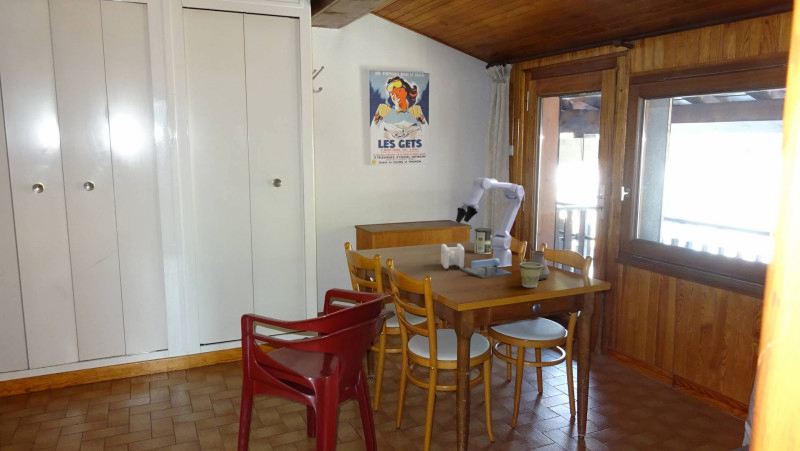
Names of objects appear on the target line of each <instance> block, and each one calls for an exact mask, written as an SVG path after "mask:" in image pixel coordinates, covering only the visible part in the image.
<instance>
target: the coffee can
mask: <svg viewBox="0 0 800 451" xmlns="http://www.w3.org/2000/svg"><path fill="white" fill-rule="evenodd" d="M492 233H493V229H492V228H487V227H478V228H474V244H473V245H474V249H473V253H474V254H477V255H489V254H492V246H491V244H490V240H491V238H492V237H493V235H492Z"/></svg>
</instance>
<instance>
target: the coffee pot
mask: <svg viewBox="0 0 800 451" xmlns="http://www.w3.org/2000/svg"><path fill="white" fill-rule="evenodd" d="M526 245H528V246H529V247H530V250H531V253H532V257H531V258H530V260H529V262H533V263H539V264H541V265H544V266H545V269H544V266H542V269H541V271H542V270H543V269H544V271H543V272H542V273H541V274H540V275H539V280H541V281H542V280H545V279H546V278H547V277H548V276H549V275H550V270H549V267H548V264H547V262H546V260H545V255H546V251H542V250H535V249H534V247H533V244H532V242H530V241H529V242H527V244H526ZM539 280H538V281H539Z"/></svg>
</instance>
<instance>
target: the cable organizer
mask: <svg viewBox="0 0 800 451" xmlns="http://www.w3.org/2000/svg"><path fill="white" fill-rule="evenodd" d="M440 249H441V250H440V263H441V266H442V267H443V269H444V270H447V269H449V266H453V265H454V266H456V267H459V269H460V270H461V269H463V268H464V266H465V247H464V246H463V245H462V244H461V243H457V244H456V246H453V247H452V246H451V247H449V246H448V245H447V244H445V243H441V245H440Z"/></svg>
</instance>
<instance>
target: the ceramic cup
mask: <svg viewBox="0 0 800 451" xmlns="http://www.w3.org/2000/svg"><path fill="white" fill-rule="evenodd" d="M542 266H544V265H541V264H539V263H533V262H530V261H528V262H525V261H524V262H520V263H519V270H520V278H521V284H522V287H525V288H531V289H532V288H537V287H538V283H539V275H540V274H541V273H542V272H543V271H544V269H545V266H544V269H543V270H542V271H541V269H542Z"/></svg>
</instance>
